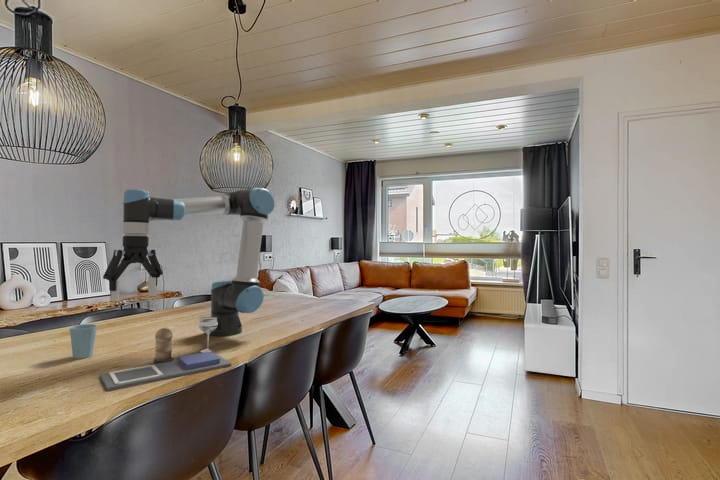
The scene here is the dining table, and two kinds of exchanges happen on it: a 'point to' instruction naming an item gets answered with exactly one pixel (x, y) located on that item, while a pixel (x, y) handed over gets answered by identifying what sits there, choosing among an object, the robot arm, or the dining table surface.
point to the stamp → (163, 346)
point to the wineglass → (208, 328)
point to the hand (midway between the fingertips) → (134, 298)
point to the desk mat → (163, 370)
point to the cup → (83, 340)
